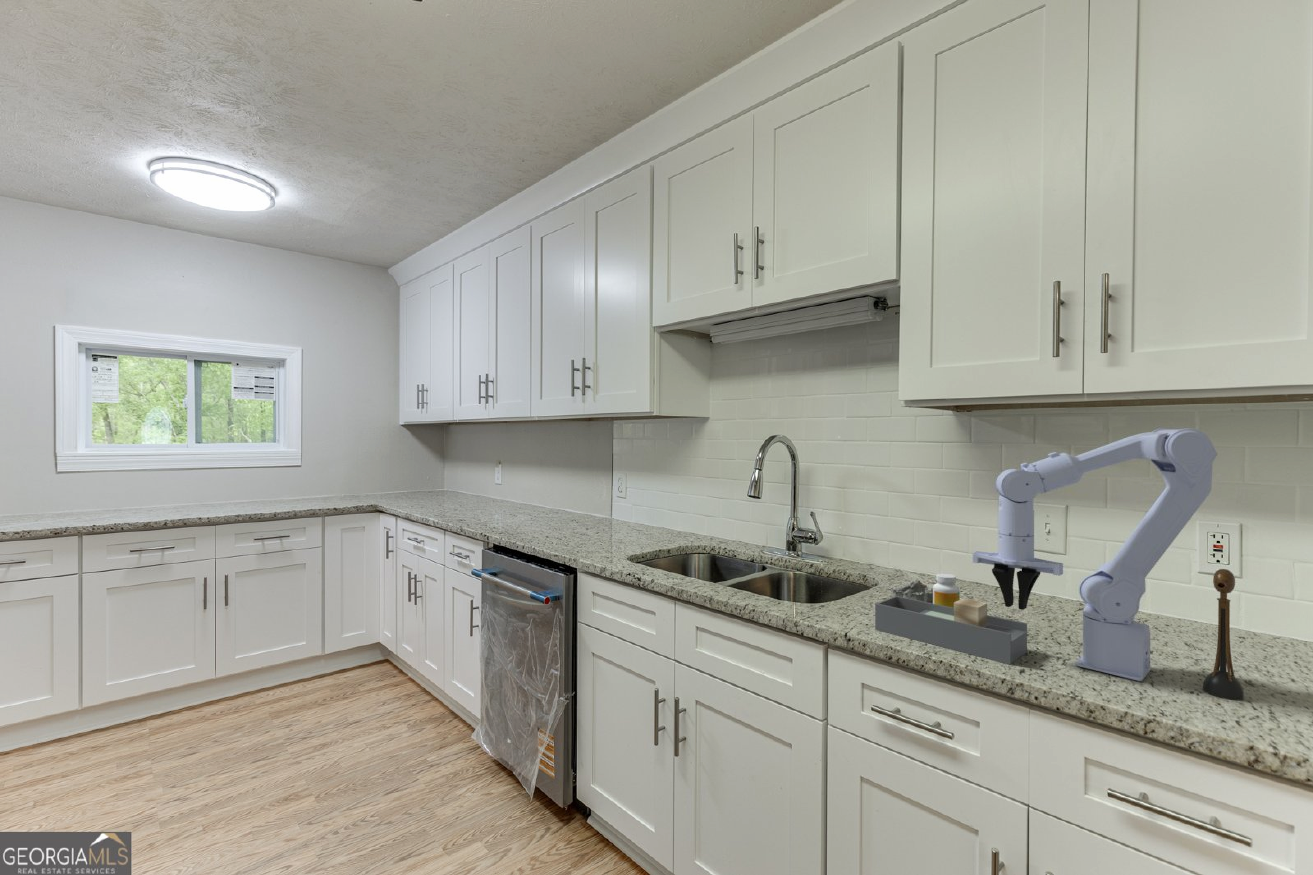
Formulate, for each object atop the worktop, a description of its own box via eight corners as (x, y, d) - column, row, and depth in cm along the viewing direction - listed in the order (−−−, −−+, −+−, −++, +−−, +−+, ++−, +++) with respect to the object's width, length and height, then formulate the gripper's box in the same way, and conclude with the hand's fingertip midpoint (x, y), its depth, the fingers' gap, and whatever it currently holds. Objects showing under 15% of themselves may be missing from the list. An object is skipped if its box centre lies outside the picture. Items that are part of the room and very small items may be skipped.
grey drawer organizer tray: (1027, 652, 115) (1027, 623, 115) (1010, 664, 109) (1010, 634, 109) (895, 620, 134) (895, 595, 134) (875, 629, 128) (875, 603, 128)
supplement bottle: (962, 623, 132) (962, 578, 132) (936, 621, 133) (936, 577, 133) (955, 615, 137) (955, 573, 137) (930, 614, 138) (930, 572, 138)
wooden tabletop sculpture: (1240, 704, 93) (1241, 574, 92) (1199, 694, 96) (1200, 569, 96) (1245, 693, 96) (1246, 569, 96) (1206, 684, 100) (1206, 564, 100)
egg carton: (920, 595, 155) (920, 579, 155) (943, 603, 148) (943, 586, 148) (886, 599, 152) (886, 583, 152) (908, 607, 145) (908, 590, 144)
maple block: (987, 625, 118) (987, 603, 118) (978, 631, 115) (978, 607, 115) (963, 620, 121) (963, 598, 121) (953, 625, 118) (953, 602, 118)
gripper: (966, 531, 115) (966, 603, 115) (1054, 542, 104) (1054, 620, 104) (980, 527, 119) (980, 596, 119) (1066, 537, 108) (1066, 612, 109)
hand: (1015, 607), depth 112 cm, fingers closed
